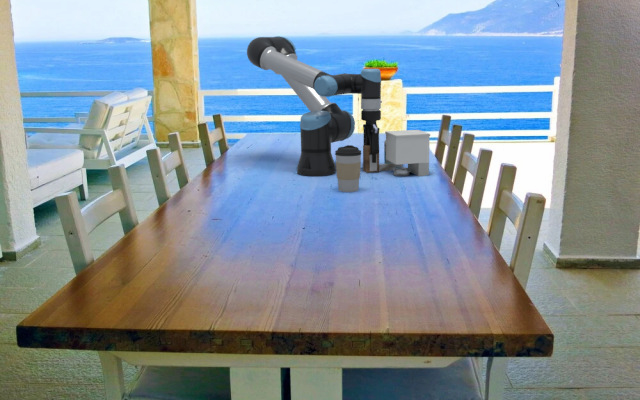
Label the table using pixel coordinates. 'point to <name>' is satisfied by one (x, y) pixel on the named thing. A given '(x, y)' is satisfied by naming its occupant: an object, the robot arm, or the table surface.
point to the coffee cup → (348, 168)
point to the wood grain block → (379, 166)
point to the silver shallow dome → (401, 171)
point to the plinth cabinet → (409, 150)
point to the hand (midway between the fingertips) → (371, 169)
